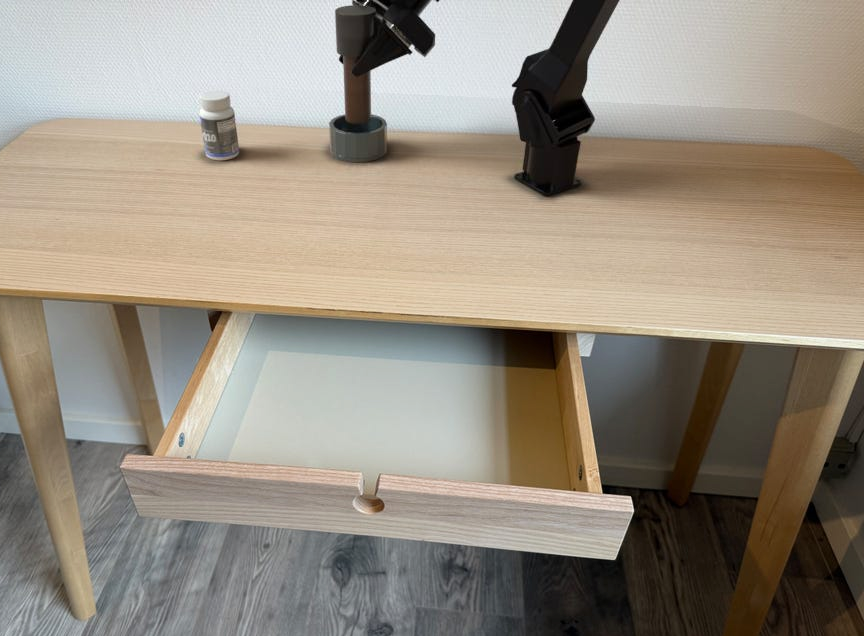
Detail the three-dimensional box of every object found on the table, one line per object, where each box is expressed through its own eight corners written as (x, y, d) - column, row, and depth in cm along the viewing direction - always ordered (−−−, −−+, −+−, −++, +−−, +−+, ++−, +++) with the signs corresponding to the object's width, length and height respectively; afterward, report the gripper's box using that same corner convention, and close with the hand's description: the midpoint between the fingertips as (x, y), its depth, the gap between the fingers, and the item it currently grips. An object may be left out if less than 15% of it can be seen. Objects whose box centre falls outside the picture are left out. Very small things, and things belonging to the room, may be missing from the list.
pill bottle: (199, 153, 101) (189, 93, 96) (228, 145, 103) (220, 86, 98) (216, 164, 98) (207, 103, 93) (246, 155, 101) (238, 95, 95)
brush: (384, 121, 98) (383, 11, 89) (351, 129, 96) (347, 17, 87) (364, 110, 102) (362, 3, 93) (332, 117, 100) (327, 8, 91)
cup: (397, 154, 101) (397, 126, 98) (348, 167, 98) (347, 138, 95) (368, 135, 106) (367, 109, 104) (320, 147, 103) (319, 119, 100)
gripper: (360, -92, 92) (284, 9, 96) (413, -70, 78) (322, 46, 82) (415, -28, 99) (342, 63, 103) (473, 2, 85) (386, 106, 89)
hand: (347, 68), depth 94 cm, fingers closed on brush, 5 cm apart
